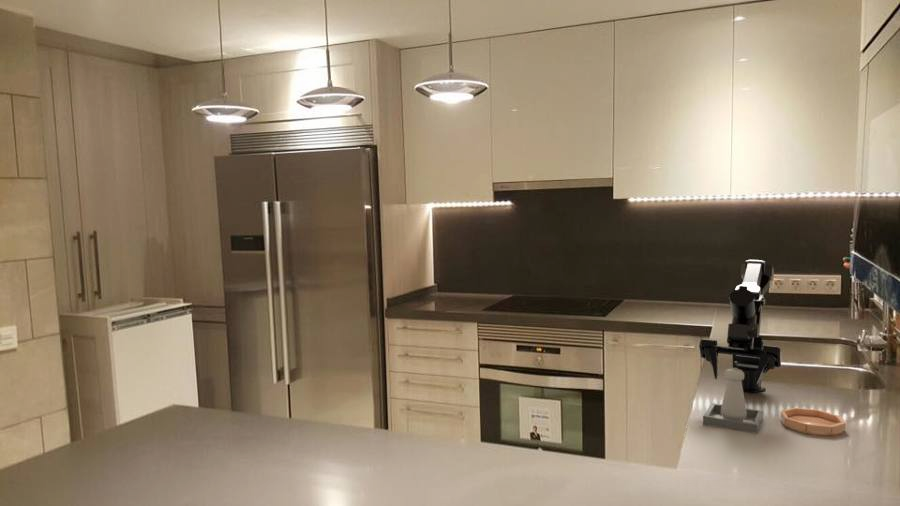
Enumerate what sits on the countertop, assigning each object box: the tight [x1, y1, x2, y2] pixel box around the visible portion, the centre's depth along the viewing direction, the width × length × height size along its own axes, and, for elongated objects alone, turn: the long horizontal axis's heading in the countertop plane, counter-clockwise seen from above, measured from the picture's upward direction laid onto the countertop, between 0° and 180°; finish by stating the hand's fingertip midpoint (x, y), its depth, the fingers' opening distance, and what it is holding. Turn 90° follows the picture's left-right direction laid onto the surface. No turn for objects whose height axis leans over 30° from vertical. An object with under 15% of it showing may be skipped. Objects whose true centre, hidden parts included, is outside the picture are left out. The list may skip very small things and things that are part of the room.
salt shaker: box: [720, 367, 747, 422], centre depth 154 cm, size 6×6×13 cm
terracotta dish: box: [779, 407, 847, 437], centre depth 151 cm, size 13×13×2 cm
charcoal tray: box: [702, 402, 764, 434], centre depth 155 cm, size 12×12×2 cm
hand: (735, 380), depth 156 cm, fingers open, 9 cm apart
